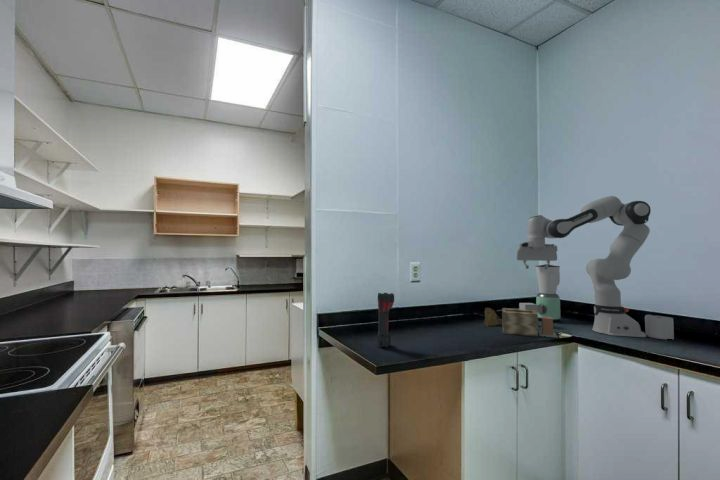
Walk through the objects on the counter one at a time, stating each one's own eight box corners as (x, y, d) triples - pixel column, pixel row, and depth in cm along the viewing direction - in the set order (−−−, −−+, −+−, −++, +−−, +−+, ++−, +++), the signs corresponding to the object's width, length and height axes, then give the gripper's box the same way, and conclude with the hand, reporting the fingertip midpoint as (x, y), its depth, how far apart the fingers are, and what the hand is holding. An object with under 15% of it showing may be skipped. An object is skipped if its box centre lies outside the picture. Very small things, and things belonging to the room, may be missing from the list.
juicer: (550, 323, 195) (549, 264, 197) (529, 319, 207) (528, 264, 209) (569, 321, 204) (568, 264, 206) (548, 317, 216) (547, 264, 218)
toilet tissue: (664, 340, 159) (663, 319, 159) (637, 334, 170) (636, 315, 171) (679, 339, 162) (678, 318, 162) (652, 333, 173) (651, 314, 174)
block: (551, 333, 170) (551, 317, 170) (553, 334, 165) (552, 318, 166) (541, 332, 171) (541, 316, 172) (542, 334, 167) (542, 318, 167)
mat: (554, 333, 171) (554, 332, 171) (557, 337, 162) (557, 336, 162) (537, 331, 174) (537, 330, 175) (539, 336, 165) (539, 334, 165)
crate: (534, 330, 177) (534, 310, 177) (537, 336, 164) (537, 314, 164) (502, 328, 183) (502, 308, 183) (502, 333, 170) (502, 312, 171)
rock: (498, 319, 197) (481, 316, 199) (503, 309, 192) (485, 306, 194) (501, 333, 189) (483, 330, 190) (506, 323, 184) (487, 320, 185)
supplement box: (538, 327, 187) (538, 304, 187) (525, 326, 187) (524, 304, 187) (531, 324, 194) (531, 302, 195) (519, 324, 194) (518, 302, 195)
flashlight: (392, 343, 150) (393, 292, 151) (395, 347, 142) (395, 294, 143) (375, 343, 149) (376, 292, 150) (377, 347, 141) (377, 294, 143)
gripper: (556, 244, 185) (556, 269, 184) (516, 244, 193) (516, 268, 192) (558, 243, 179) (558, 269, 179) (516, 244, 187) (517, 268, 186)
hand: (536, 268), depth 185 cm, fingers open, 8 cm apart
